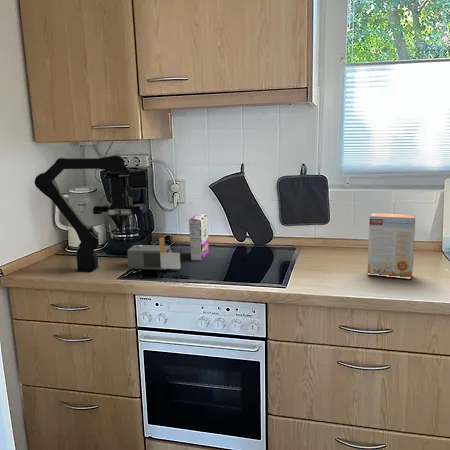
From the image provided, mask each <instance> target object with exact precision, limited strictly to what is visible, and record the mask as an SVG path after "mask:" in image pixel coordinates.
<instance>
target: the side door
mask: <svg viewBox="0 0 450 450" xmlns="http://www.w3.org/2000/svg"><path fill="white" fill-rule="evenodd" d="M158 240H159V241H158V245H159V246H160V259H161V269H166V270H180V269H181V253H180V252H173V253H167V252H165V246H166V243H165V242H166V241H165V237H159V238H158Z"/></svg>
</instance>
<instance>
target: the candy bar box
mask: <svg viewBox="0 0 450 450" xmlns="http://www.w3.org/2000/svg"><path fill="white" fill-rule="evenodd" d="M208 221H209V220H208V214H206V213H196V214H195V215H193V216H191V218H189V219H188V225H189V227H188V231H189V247H190V261H198V262H199V261H200V262H202V261H203V260H205V259H206V257H207V256H208V255H209V254H210V251H209V250H210V249H209V248H210V247H209V246H210V245H209V227H208V226H209V225H208Z"/></svg>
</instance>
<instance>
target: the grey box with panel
mask: <svg viewBox="0 0 450 450" xmlns="http://www.w3.org/2000/svg"><path fill="white" fill-rule="evenodd" d="M126 251H127V264H128V265H127V267H128V268H129V270H163V271H165V270H167V269H161V259H160V246H159V244H158V245H157V244H155V245H150V244H134V245H132V246H131V247H130V248H128V249H126ZM165 252H167V253H174V252H173V249H171V245H165ZM133 268H135V269H133Z"/></svg>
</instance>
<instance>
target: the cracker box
mask: <svg viewBox="0 0 450 450" xmlns="http://www.w3.org/2000/svg"><path fill="white" fill-rule="evenodd" d="M415 231H416V215H415V214H401V213H399V214H398V213H380V212H379V213H377V212H375V213H373V212H372V213H371V214H370V215H369V225H368V249H367V274H368V273H370V274H379V275H389V276H400V277H412V278H413V270H414V268H413V267H414V253H415V251H414V250H415V249H414V248H415V234H416V233H415Z"/></svg>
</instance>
